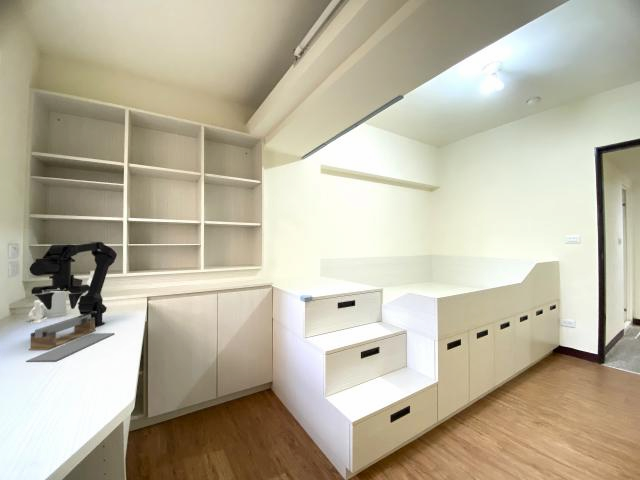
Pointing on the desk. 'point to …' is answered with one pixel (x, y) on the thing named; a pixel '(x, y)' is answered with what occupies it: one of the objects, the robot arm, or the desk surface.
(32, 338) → the standards
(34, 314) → the koala figurine
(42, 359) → the mat
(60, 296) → the skincare box
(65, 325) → the rail
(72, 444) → the desk surface
